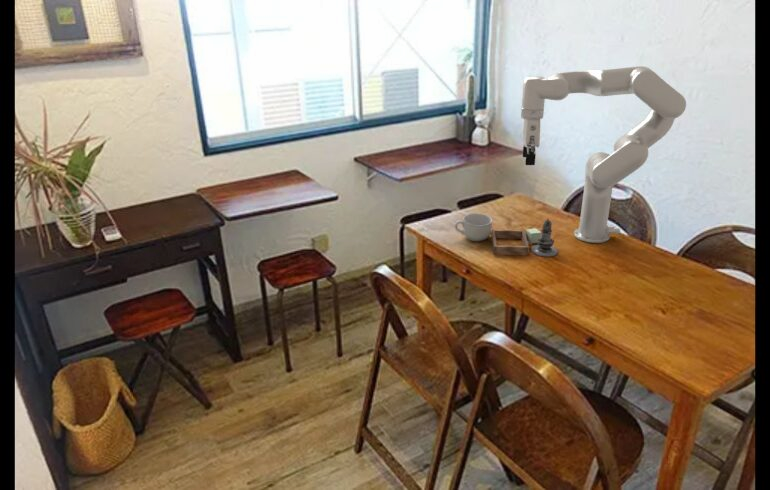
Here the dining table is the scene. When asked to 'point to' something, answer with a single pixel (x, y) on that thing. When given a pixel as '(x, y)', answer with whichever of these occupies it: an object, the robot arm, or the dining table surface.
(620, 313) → the dining table surface
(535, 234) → the sage block
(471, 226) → the teacup
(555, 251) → the slate coaster
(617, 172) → the robot arm
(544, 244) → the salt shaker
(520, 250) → the walnut corral
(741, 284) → the dining table surface
